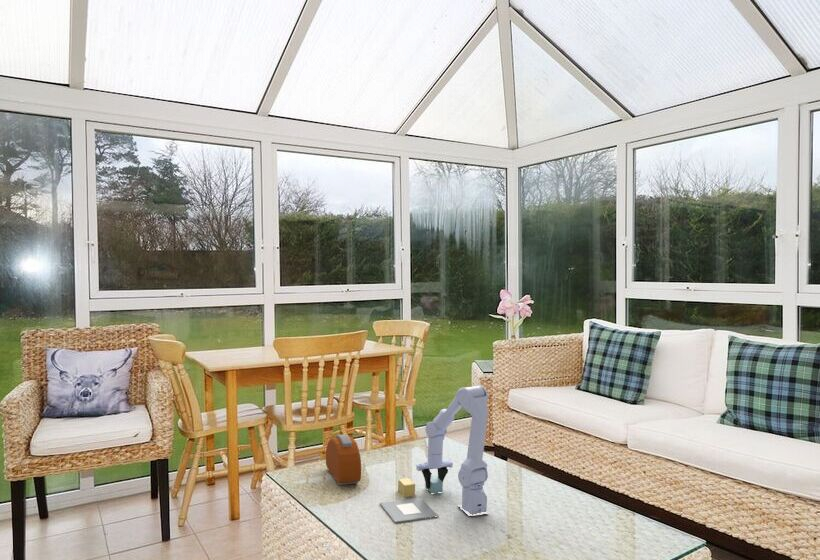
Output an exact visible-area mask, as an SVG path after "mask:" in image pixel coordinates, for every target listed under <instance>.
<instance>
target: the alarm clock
mask: <svg viewBox="0 0 820 560" xmlns="http://www.w3.org/2000/svg"><path fill="white" fill-rule="evenodd" d="M360 453H361V452H360V450H359V446H358V443H357V442H356V440H355V438H353V437H352V436H348V434H336V436H335V437H332V438H330V439H329V440H328V442H327V445H326V450H325V466H326V467H327V469H328V470H329V471H328V472H330V474H331V475H332V476H333V478H334V479H335V481H336V482H337V485H338V486H342V484H343V485H352V484H358V482H360V481H361V479H362V459H361V454H360Z"/></svg>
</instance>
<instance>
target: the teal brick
mask: <svg viewBox="0 0 820 560" xmlns="http://www.w3.org/2000/svg"><path fill="white" fill-rule="evenodd" d="M443 484H444V480H443V481H441V480H440V479H439V478H438V475H433V476H432V475H431V479H430V489H428V488H427V487H426V483H425V485H424V486H425V488H426V489H428V490H429V491H430V492H431V493H438V492H442V493H443V490H444V489H443V487H444V485H443ZM426 489H425V490H426ZM429 491H428V492H429ZM430 492H429V493H430ZM431 493H430V494H431Z"/></svg>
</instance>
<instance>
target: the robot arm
mask: <svg viewBox="0 0 820 560" xmlns="http://www.w3.org/2000/svg"><path fill="white" fill-rule="evenodd" d="M488 400H489V393H488V391H487V390H486V389H485V387H484V386H483V385H474V386H466V387H460V388H459V389H458V390H457V391H456V392H455V396H454V398H453V399H452V401H451V403H450V404H449V405H448V407H447V408H442V409H440V410H439V411H438V412H439V413H438V414H437V415H436V416H435V417H434V418H433V420H432V421H428V422H427V423H426V425H425V433H426V436H427V437H428V440H427V442H428V443H427V461H425V462H423V463H417V464H416V468H415V469H416V470H417V471H418V472H421V473H422V475H423V478H424V482H425V483H426V487H427V488H428V489H430V479H431V476H432V472H431V470H434V469H435V470H436V469H437V477H438V478H439V479H440V480H441V481H443V482H444V480H445V478H446V476H447V474H448V472H449V469H451V468H453V467H454V465H453V464H454V462H453V461H450V460H448V461H447V460H446V461H445V460H443V451H444V449H443V448H444V447H443V446H444V440H445V435H446V434H447V432H448V427H449V426H451V424H452V423H453V421H455V415H456V414H457V412H459V411H460V410H461V409H462V408H463V409H464V410H465V411H466V412H467V413H468V414H470V415H471V421H470V430H469V439H468V447H467V453H466V454H467V455H466V459H465V460H463V462H462V463H461V466H460V469H459V471H458V474H457V477H458V482H459V483H460V486H462V490H461V492H462V494H461V505H462V508H463V509H464V510H466V511H468V512H469V513H470V514H472V515H473V514H477V513H481V512H486V511H487V510H488V508H487V507H488V496H487V494H486V493H485V490H484V486H485V483H486V481H487V480H488V478H489V473H488V464H487V463H486V462H485V460H483V457H484V450H485V441H486V433H487V426H488V425H487V424H488V419H489V418H488V417H489V410H488ZM448 468H449V469H448ZM487 512H488V511H487Z"/></svg>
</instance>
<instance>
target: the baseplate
mask: <svg viewBox="0 0 820 560" xmlns="http://www.w3.org/2000/svg"><path fill="white" fill-rule="evenodd" d="M379 505H380V506H381V508H382V509H383V510H384V512H385V513H386V515H388V517H389V518H390V519H391V520H392V522H393V523H394V524H401V523H408V522H414V521H415V522H416V521H421V519H423V520H426V519H425V518H430V517H435V516H438V517H439V515H438V514H437V513H436V511H435V510H434V509H432V507H431V506H430V505H429V504H428V503H427V502H426V501H425V500H424V499H423V498H422V497H416V498H414V497H413V498H407V499H399V500H391V501H390V500H389V501H383V502H379Z"/></svg>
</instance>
